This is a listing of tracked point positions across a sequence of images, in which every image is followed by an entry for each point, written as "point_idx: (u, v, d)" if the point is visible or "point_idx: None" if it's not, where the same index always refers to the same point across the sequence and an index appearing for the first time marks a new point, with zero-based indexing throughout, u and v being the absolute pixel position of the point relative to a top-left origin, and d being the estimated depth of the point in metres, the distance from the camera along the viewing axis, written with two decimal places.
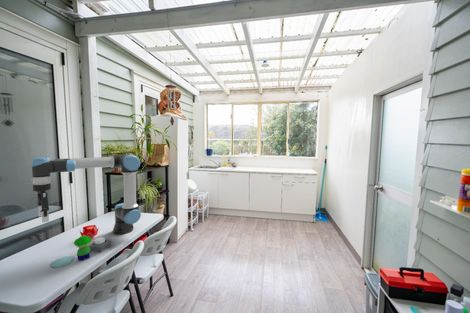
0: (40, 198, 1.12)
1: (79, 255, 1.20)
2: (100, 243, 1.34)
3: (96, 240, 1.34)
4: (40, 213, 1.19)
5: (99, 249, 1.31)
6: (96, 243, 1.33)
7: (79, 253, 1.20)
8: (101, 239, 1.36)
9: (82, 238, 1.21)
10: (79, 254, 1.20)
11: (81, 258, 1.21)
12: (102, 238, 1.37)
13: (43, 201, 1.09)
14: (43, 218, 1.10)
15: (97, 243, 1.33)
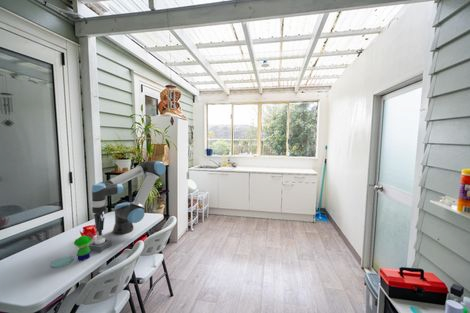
0: (98, 220, 1.33)
1: (79, 255, 1.20)
2: (100, 243, 1.34)
3: (96, 240, 1.34)
4: None
5: (99, 249, 1.31)
6: (96, 243, 1.33)
7: (79, 253, 1.20)
8: (101, 239, 1.36)
9: (82, 238, 1.21)
10: (79, 254, 1.20)
11: (81, 258, 1.21)
12: (102, 238, 1.37)
13: (100, 224, 1.32)
14: (98, 236, 1.34)
15: (97, 243, 1.33)
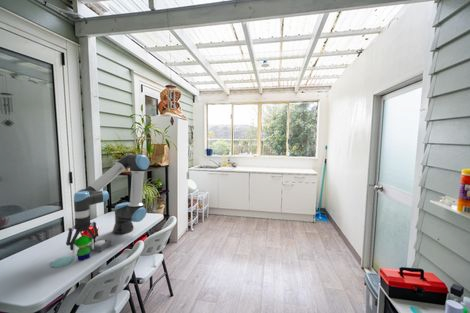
0: (76, 230, 1.21)
1: (79, 255, 1.20)
2: None
3: (96, 243, 1.34)
4: (91, 245, 1.27)
5: (99, 249, 1.31)
6: None
7: (79, 253, 1.20)
8: (101, 242, 1.36)
9: (82, 238, 1.21)
10: (79, 254, 1.20)
11: (81, 258, 1.21)
12: (102, 241, 1.37)
13: (68, 235, 1.17)
14: None
15: None
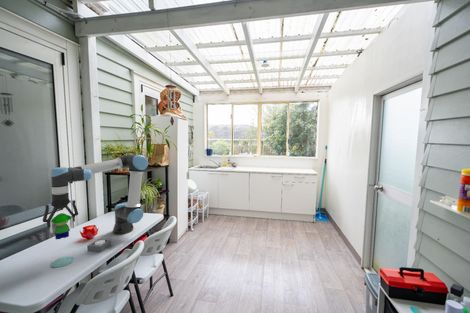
0: None
1: (57, 233, 1.15)
2: None
3: (96, 243, 1.34)
4: (70, 224, 1.22)
5: (99, 249, 1.31)
6: None
7: (57, 231, 1.15)
8: (101, 242, 1.36)
9: (60, 215, 1.16)
10: (57, 232, 1.15)
11: (59, 236, 1.17)
12: (102, 241, 1.37)
13: (44, 212, 1.13)
14: None
15: None
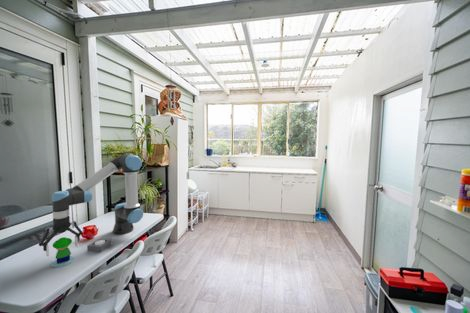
0: None
1: (58, 257, 1.16)
2: None
3: (96, 243, 1.34)
4: (75, 243, 1.24)
5: (99, 249, 1.31)
6: None
7: (58, 255, 1.16)
8: (101, 242, 1.36)
9: (61, 240, 1.17)
10: (58, 256, 1.16)
11: (60, 260, 1.18)
12: (102, 241, 1.37)
13: (43, 235, 1.13)
14: (46, 251, 1.14)
15: None
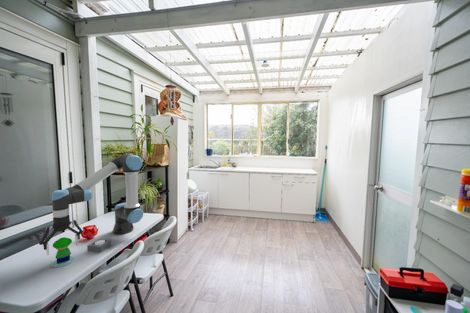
0: None
1: (58, 257, 1.16)
2: None
3: (96, 243, 1.34)
4: (75, 241, 1.25)
5: (99, 249, 1.31)
6: None
7: (58, 255, 1.16)
8: (101, 242, 1.36)
9: (61, 240, 1.17)
10: (58, 256, 1.16)
11: (60, 260, 1.18)
12: (102, 241, 1.37)
13: (43, 234, 1.13)
14: (46, 250, 1.14)
15: None
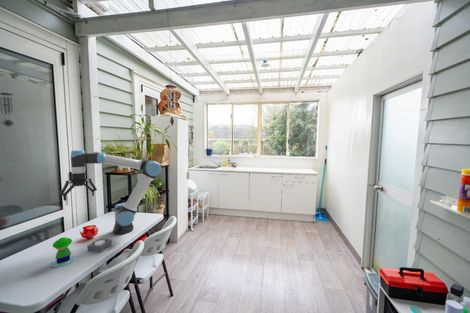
0: (72, 184, 1.33)
1: (58, 257, 1.16)
2: None
3: (96, 243, 1.34)
4: (90, 198, 1.41)
5: (99, 249, 1.31)
6: None
7: (58, 255, 1.16)
8: (101, 242, 1.36)
9: (61, 240, 1.17)
10: (58, 256, 1.16)
11: (60, 260, 1.18)
12: (102, 241, 1.37)
13: (63, 187, 1.29)
14: None
15: None
